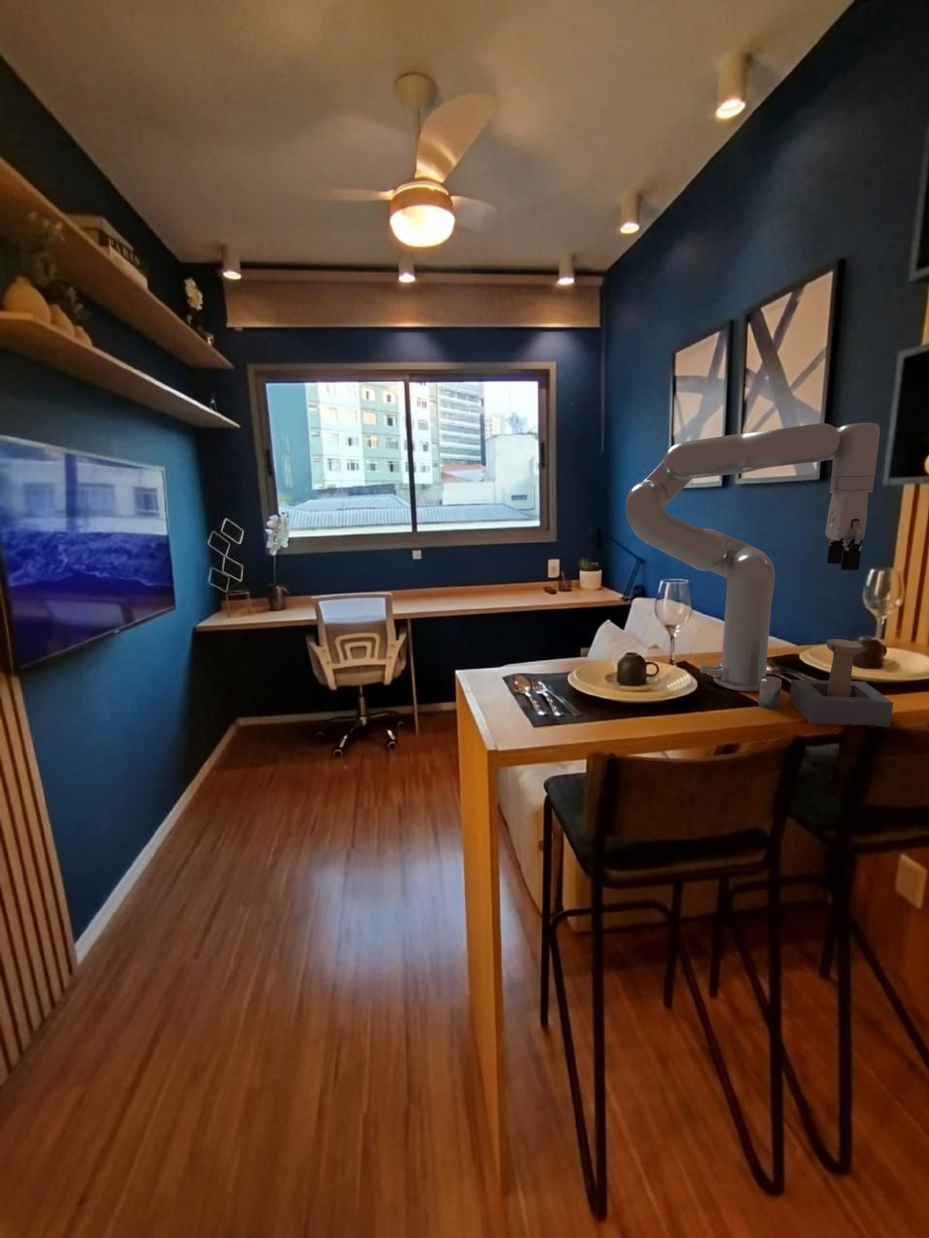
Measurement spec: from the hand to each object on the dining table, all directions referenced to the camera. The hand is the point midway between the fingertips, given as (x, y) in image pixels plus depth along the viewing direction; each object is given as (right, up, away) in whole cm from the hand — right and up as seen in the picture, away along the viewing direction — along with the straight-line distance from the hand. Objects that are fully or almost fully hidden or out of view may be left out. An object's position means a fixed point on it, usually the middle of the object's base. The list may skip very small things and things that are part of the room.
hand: (842, 566), depth 122 cm
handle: (-5, -31, -6) cm, 32 cm away
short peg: (-16, -30, 0) cm, 34 cm away
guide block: (-5, -31, -6) cm, 32 cm away
